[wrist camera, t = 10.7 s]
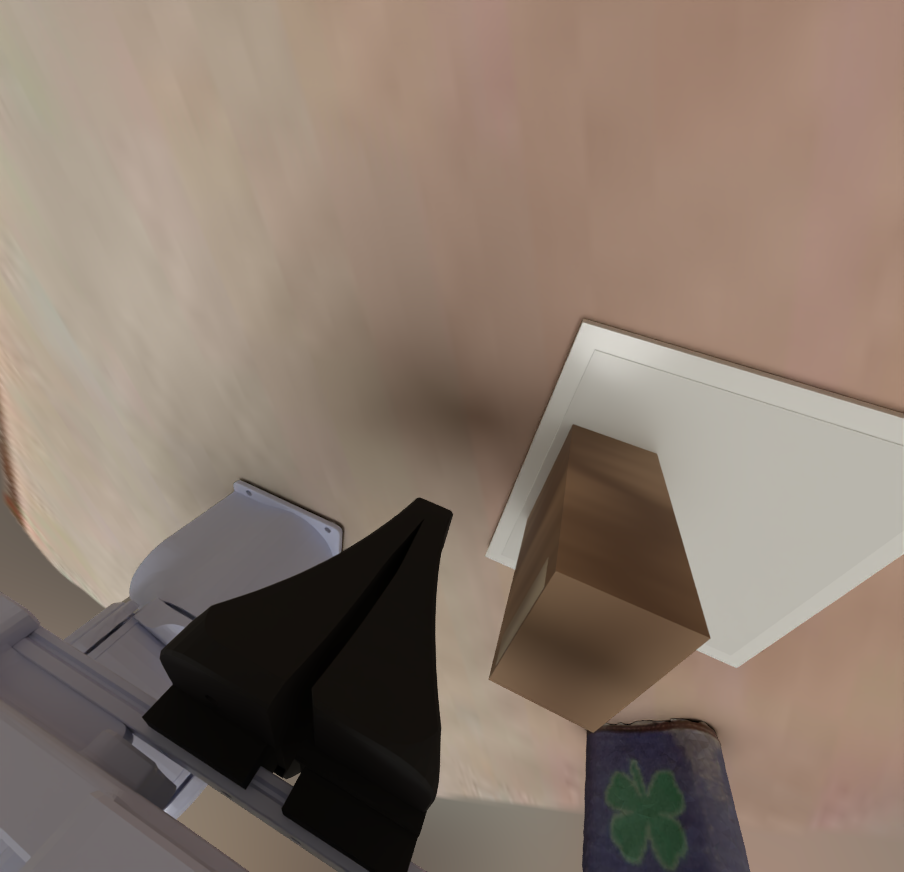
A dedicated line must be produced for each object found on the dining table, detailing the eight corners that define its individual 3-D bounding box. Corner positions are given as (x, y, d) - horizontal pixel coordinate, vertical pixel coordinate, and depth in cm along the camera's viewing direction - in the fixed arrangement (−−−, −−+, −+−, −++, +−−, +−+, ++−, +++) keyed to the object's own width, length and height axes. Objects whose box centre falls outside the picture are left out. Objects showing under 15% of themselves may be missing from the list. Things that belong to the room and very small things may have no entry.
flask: (703, 716, 22) (776, 1036, 13) (730, 744, 22) (818, 1074, 13) (577, 722, 27) (569, 955, 18) (601, 745, 27) (604, 984, 19)
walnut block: (527, 519, 18) (488, 679, 12) (572, 423, 15) (555, 570, 8) (593, 547, 17) (593, 733, 11) (657, 453, 14) (711, 638, 8)
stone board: (488, 546, 21) (484, 557, 20) (583, 318, 14) (582, 322, 13) (731, 652, 19) (737, 669, 18) (1014, 446, 11) (1045, 461, 10)
